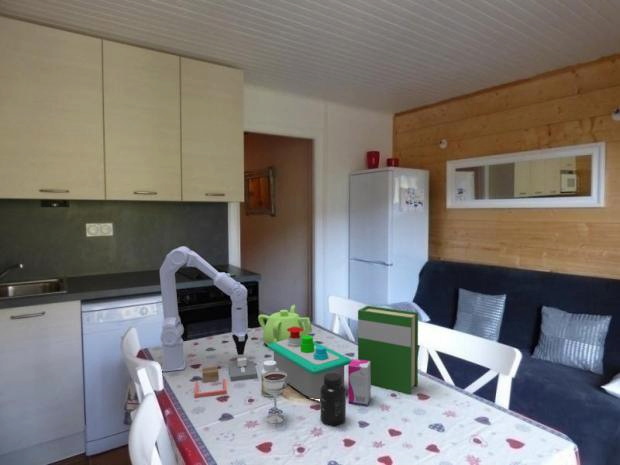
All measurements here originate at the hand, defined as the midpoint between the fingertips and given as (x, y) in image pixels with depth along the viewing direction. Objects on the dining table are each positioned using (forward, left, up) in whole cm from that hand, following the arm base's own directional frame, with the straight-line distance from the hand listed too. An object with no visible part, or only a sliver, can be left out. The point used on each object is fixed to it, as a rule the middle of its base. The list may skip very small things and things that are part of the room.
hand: (240, 354), depth 145 cm
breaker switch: (+7, 0, -2) cm, 7 cm away
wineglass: (+41, +6, -4) cm, 42 cm away
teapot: (-19, +21, -4) cm, 28 cm away
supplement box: (+38, +32, -4) cm, 50 cm away
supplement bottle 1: (+26, +7, -4) cm, 28 cm away
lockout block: (+10, -11, -4) cm, 16 cm away
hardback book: (+30, +45, -4) cm, 54 cm away
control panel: (+22, +20, -4) cm, 30 cm away
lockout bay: (+18, -11, -4) cm, 22 cm away
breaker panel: (+8, 0, -4) cm, 9 cm away
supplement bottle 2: (+46, +21, -4) cm, 51 cm away
